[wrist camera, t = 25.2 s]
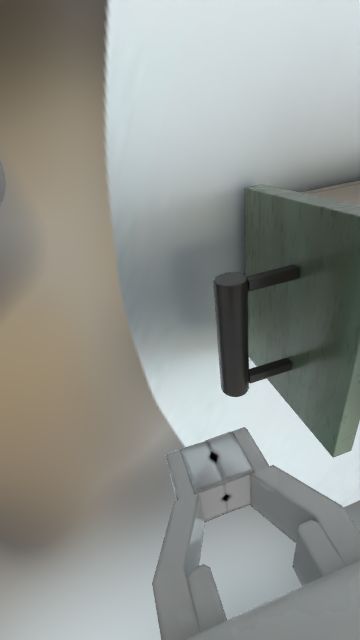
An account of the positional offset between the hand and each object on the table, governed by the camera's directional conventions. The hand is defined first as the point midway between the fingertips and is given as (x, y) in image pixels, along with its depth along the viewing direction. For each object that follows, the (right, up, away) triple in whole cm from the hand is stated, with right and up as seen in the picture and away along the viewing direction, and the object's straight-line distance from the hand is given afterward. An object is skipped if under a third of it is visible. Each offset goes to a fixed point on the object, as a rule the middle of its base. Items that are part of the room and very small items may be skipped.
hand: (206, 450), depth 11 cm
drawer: (+8, +8, +11) cm, 16 cm away
